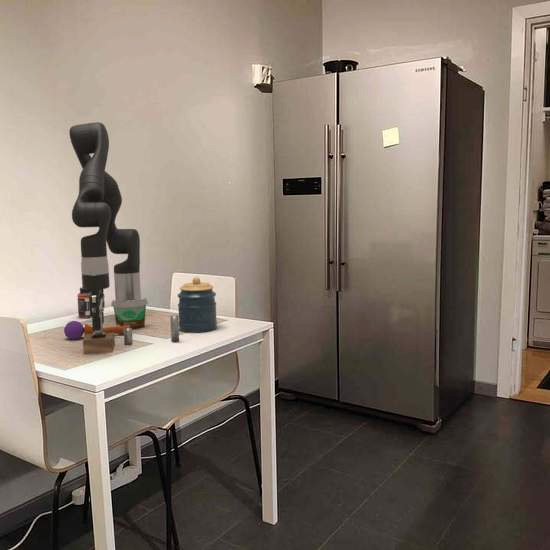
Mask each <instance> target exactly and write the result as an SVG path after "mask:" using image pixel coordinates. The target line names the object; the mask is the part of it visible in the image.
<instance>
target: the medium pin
mask: <svg viewBox="0 0 550 550" xmlns="http://www.w3.org/2000/svg"><path fill="white" fill-rule="evenodd" d="M169 317H170V337H171V338H170V339H171V340H170V341H171V343H174V342H175V343H179V342H180V329H179V315H176V314H175V315H170V316H169ZM178 341H179V342H178Z"/></svg>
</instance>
